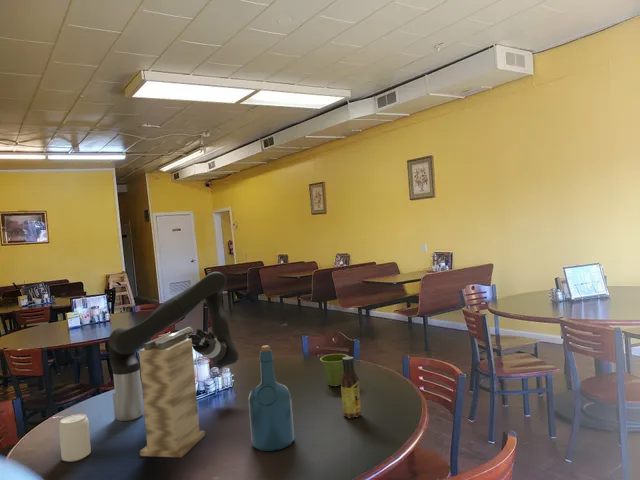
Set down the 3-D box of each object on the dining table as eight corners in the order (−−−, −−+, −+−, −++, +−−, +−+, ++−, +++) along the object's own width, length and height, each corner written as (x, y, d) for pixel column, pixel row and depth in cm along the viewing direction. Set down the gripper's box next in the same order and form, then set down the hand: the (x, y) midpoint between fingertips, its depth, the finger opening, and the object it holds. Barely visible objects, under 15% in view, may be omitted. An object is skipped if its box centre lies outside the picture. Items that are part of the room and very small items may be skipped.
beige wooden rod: (160, 348, 143) (160, 340, 143) (153, 348, 144) (153, 340, 144) (193, 333, 163) (192, 326, 163) (186, 333, 163) (186, 326, 163)
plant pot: (320, 381, 200) (318, 355, 200) (348, 378, 201) (346, 352, 201) (324, 390, 188) (321, 362, 188) (353, 387, 190) (350, 359, 189)
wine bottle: (255, 434, 151) (248, 342, 151) (296, 432, 151) (289, 339, 151) (247, 455, 138) (239, 353, 137) (292, 452, 137) (284, 350, 137)
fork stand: (140, 455, 143) (130, 344, 142) (167, 434, 157) (158, 333, 157) (181, 457, 140) (172, 343, 139) (205, 435, 154) (196, 332, 154)
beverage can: (69, 452, 149) (65, 414, 149) (95, 449, 150) (92, 412, 150) (56, 464, 141) (53, 425, 141) (84, 461, 142) (81, 422, 142)
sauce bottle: (360, 419, 157) (355, 360, 157) (341, 419, 158) (337, 361, 158) (362, 411, 164) (358, 355, 163) (344, 411, 165) (340, 355, 164)
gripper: (191, 335, 178) (169, 322, 164) (226, 335, 174) (206, 320, 161) (187, 355, 174) (165, 343, 160) (223, 355, 171) (203, 342, 157)
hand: (186, 332), depth 161 cm, fingers open, 8 cm apart
